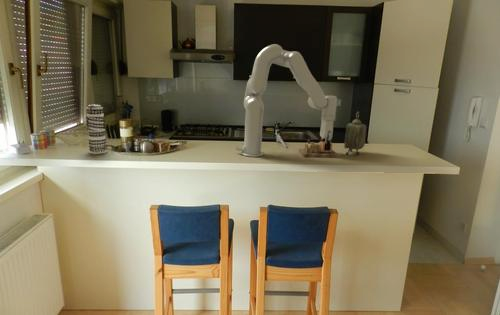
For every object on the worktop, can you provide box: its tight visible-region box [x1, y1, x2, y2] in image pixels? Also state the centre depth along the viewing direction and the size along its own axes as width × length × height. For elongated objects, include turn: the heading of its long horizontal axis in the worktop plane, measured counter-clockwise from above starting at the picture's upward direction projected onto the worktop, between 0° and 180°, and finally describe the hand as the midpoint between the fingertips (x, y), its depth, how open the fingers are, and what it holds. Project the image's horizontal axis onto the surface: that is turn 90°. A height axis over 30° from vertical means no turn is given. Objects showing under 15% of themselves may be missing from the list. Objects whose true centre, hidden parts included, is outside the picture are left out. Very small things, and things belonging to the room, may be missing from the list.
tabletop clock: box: [343, 111, 368, 156], centre depth 190 cm, size 14×9×25 cm, turn 152°
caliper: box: [276, 132, 288, 149], centre depth 211 cm, size 20×1×6 cm, turn 11°
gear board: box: [298, 139, 340, 159], centre depth 188 cm, size 20×14×8 cm
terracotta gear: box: [318, 141, 333, 152], centre depth 188 cm, size 7×7×4 cm
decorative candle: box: [85, 104, 108, 155], centre depth 173 cm, size 9×9×25 cm
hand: (325, 148), depth 189 cm, fingers closed on terracotta gear, 7 cm apart
